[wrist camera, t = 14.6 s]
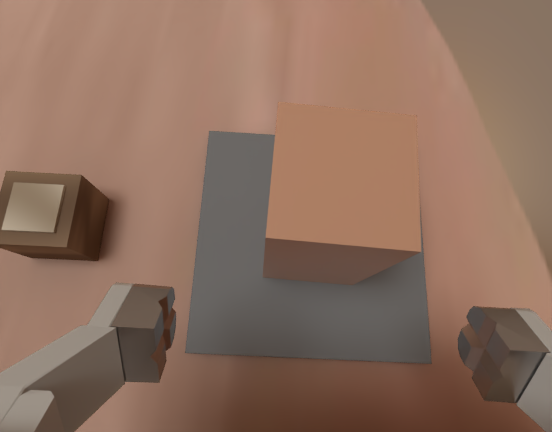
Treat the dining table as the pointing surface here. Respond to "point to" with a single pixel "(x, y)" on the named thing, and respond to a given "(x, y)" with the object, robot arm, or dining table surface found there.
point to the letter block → (51, 216)
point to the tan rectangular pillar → (341, 194)
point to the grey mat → (288, 293)
